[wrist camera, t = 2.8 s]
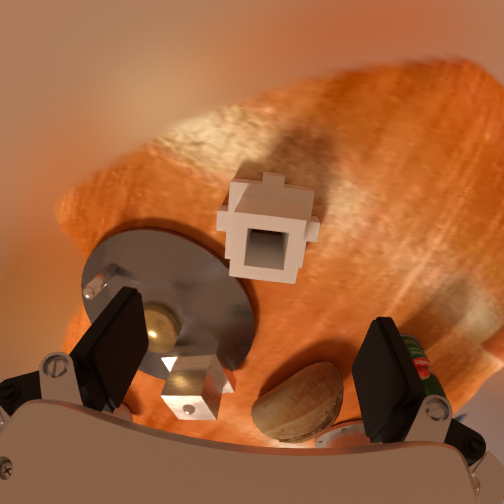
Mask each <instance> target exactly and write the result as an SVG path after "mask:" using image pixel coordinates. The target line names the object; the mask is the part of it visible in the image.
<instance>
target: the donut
mask: <svg viewBox="0 0 504 504" xmlns="http://www.w3.org/2000/svg"><path fill="white" fill-rule="evenodd" d="M102 412H103V413H105V414H108V415H111V416H114V417H117V418H120V419H124V420H127V421H130V422H133V418H132V415H131V413H130V411H129V409H128V408H127V407H126V406H125V405H124V404H123V403H121V405H120V407H119V408H115V410H114V412H113V414H111V413H109V412H106V411H103V410H102Z"/></svg>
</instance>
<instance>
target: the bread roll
mask: <svg viewBox="0 0 504 504" xmlns="http://www.w3.org/2000/svg"><path fill="white" fill-rule="evenodd" d="M343 388H344V387H343V382H342V376H341V373H340V371H339V370H338V368H337V367H336V366H335V365H334V364H333V363H330V362H327V361H324V362H317V363H315V364H312V365H310V366H307V367H305V368H303V369H302V370H300V371H299V372H297V373H295V374H294V375H292V376H291V377H290V378H288V379H287V380H285V381H284V382H283V383H281V384H279V385H278V386H276V387H275V388H273V389H272V390H270V391H269V392H267V393H266V394H264V395H262V396H261V397H259V398H258V399H257V400H256V401H255V402H254V404H253V406H252V410H251V414H252V418H253V421H254V423H255V425H256V426H257V427H258V428H259V430H260V431H261V432H262V433H263V434H265V435H267V436H268V437H270V438H272V439H275V440H279V442H284V443H301V442H305V441H308V440H310V439H312V438H315V437H317V436H319V435H320V434H322V433H324V432H325V431H327V430H328V429H329V428H330V427H331V426H332V425H333V424H334V422H335V420H336V419H337V417H338V416H339V413H340V410H341V406H342V403H343Z"/></svg>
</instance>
